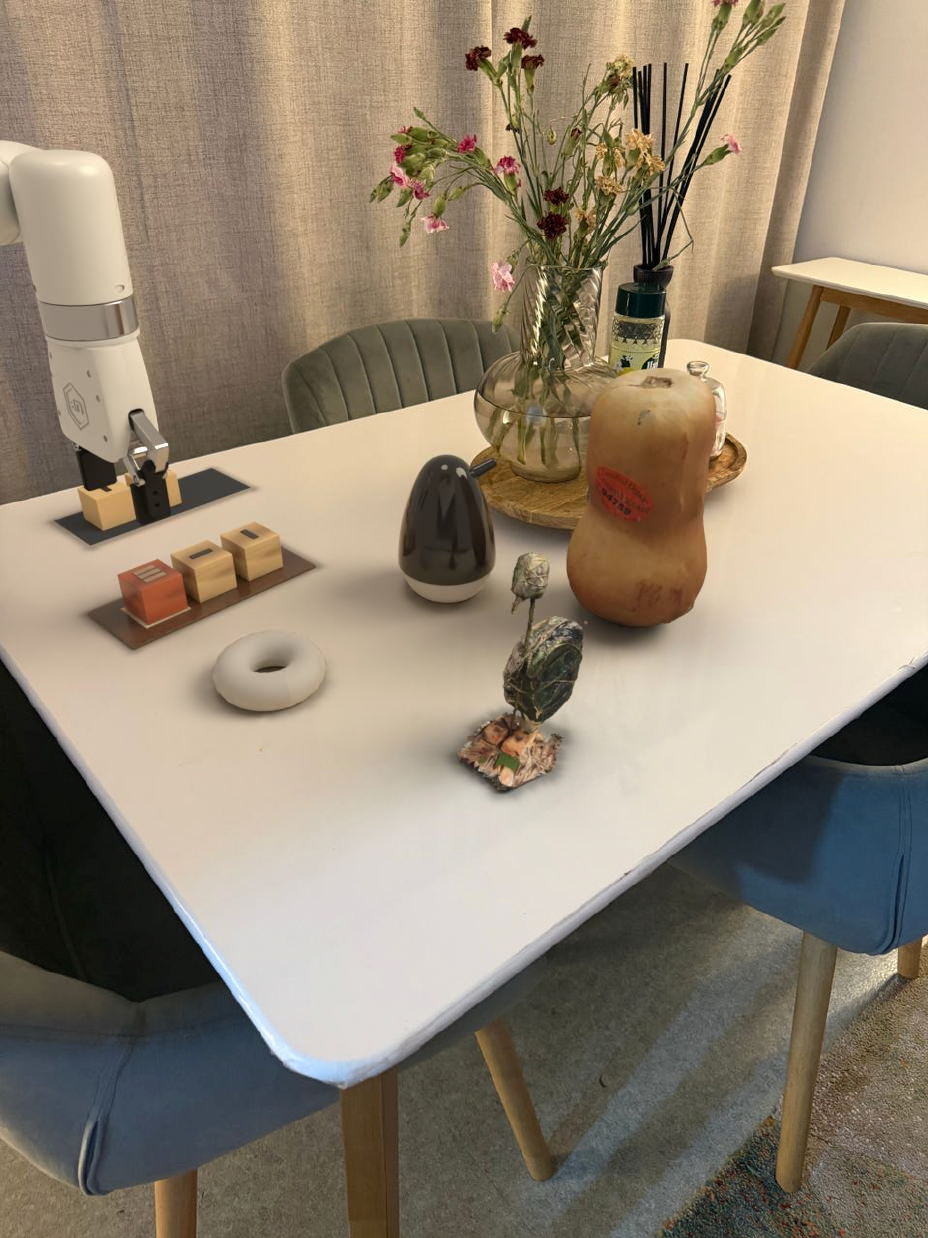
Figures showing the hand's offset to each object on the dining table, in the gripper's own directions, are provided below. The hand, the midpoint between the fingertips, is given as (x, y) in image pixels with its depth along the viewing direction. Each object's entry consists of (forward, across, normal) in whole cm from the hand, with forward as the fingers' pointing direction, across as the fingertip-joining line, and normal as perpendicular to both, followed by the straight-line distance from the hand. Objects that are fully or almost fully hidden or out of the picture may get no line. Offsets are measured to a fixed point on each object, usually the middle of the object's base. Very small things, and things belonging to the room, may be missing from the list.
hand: (127, 502), depth 84 cm
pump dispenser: (+12, +19, +24) cm, 33 cm away
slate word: (+13, -21, +13) cm, 28 cm away
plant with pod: (+12, +41, +10) cm, 44 cm away
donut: (+12, +19, +1) cm, 23 cm away
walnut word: (+12, +1, +6) cm, 14 cm away
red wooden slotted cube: (+12, +1, 0) cm, 12 cm away
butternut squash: (+12, +36, +33) cm, 50 cm away
